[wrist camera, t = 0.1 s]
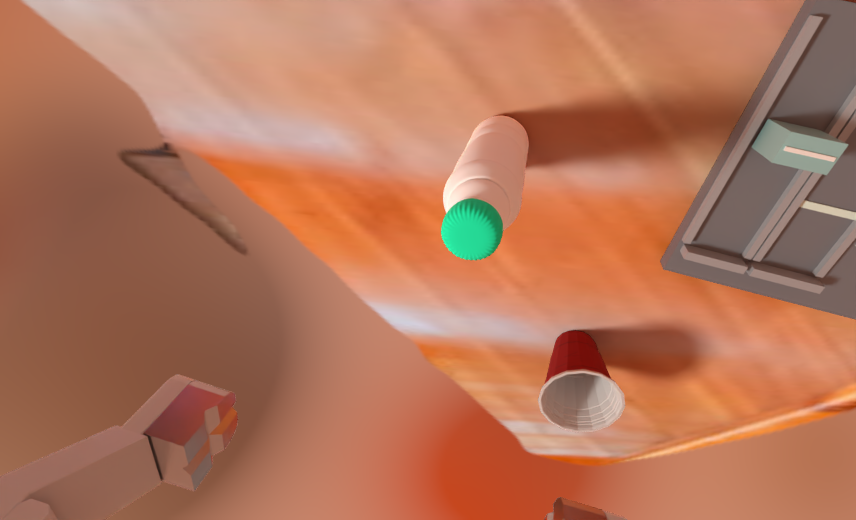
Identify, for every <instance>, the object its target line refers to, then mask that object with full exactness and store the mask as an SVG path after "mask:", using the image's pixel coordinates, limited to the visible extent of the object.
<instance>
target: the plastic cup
mask: <svg viewBox="0 0 856 520" xmlns="http://www.w3.org/2000/svg"><path fill="white" fill-rule="evenodd" d="M538 402H539V407H540V411H541V413H542V414H543V415H544V416H545V417H546V419H547V420H548V421H549V422H550V423H552V424H554V425H556V426H558V427H559V428H561V429H564V430H569V431H573V432H594V431H597V430H600V429H603V428H606V427H609V426H610V425H611V424H613V423H614V422H615V421H616V420H617V419H619V418H620V416H621V414H622V412H623V410H624V407H625V400H624V393H623V392H622V391H621V389H620V388H619V387H618V385H617V384H616V383H615V381H614V380H612V379H611V378H610V375H609V373H608V371H607V368H606V366H605V364H604V361H603V359H602V357H601V355H600V353H599V351H598V349H597V346H596V343H595V342H594V340H593V339H592V338H591V336H590V335H588V334H586V333H585V332H581V331H577V330H574V331H567V332H565V333H562V334H561V335H560V336H559V337H558V338H557V340H556V342H555V345H554V349H553V353H552V356H551V360H550V364H549V369H548V373H547V378H546V381H545V384H544V385H543V386H542V389H541V392H540V395H539V398H538Z"/></svg>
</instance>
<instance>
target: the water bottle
mask: <svg viewBox="0 0 856 520" xmlns="http://www.w3.org/2000/svg"><path fill="white" fill-rule="evenodd" d="M528 149H529V140H528V135H527V133H526V131H525V129H524V127H523V126H522V125H521V124H520V123H519V122H518V121H516V120H515V119H513V118H511V117H508V116H493V117H490V118H487V119H485V120H484V121H482V122H481V123H480V124H479V125H478V126H477V127H476V129H475V130H474V132H473V134H472V136H471V138H470V140H469V142H468V143H467V146H466V148H465V150H464V152H463V153H462V155H461V157H460V158H459V160H458V162H457V164H456V166H455V168H454V171H453V173H452V174H451V176H450V177H449V179H448V181H447V183H446V185H445V188H444V193H443V203H444V208H445V211H446V215H445V217H444V220H443V223H442V227H441V228H442V230H441V235H442V239H443V241H444V244H446V247H447V248H449V251H451V252H452V253H453V254H455V255H456V256H457V257H460V258H462V259H463V258H464V259H465V260H468V259H469V260H477V259H479V260H481V259H482V258H486V257H487V256H490V255H491V254H492V253H494V251H495V250H496V249H497V247H498V245H499V244H500V241H501V238H502V233H503V231H504V230H505V229H507V228H508V227H509V226H510V225H511V224H512V223H513V222H514V220H515V219H516V217H517V216H518V214H519V211H520V208H521V203H522V191H523V186H524V178H525V166H526V162H527V154H528Z"/></svg>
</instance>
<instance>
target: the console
mask: <svg viewBox="0 0 856 520" xmlns="http://www.w3.org/2000/svg"><path fill="white" fill-rule="evenodd" d="M768 119H772V120H777V121H781V122H786V123H790V124H795V125H799V126H804V127H808V128H813V129H817V130H821V131H823V132H825V133H827V134H829V135H831V136H833V137H835V138H837V139H839V140H841V141H843V142H845V143H847V144H849V145H848V146H847V148H846V149H845V151H844V152H843V153H842V155H841V156H840V158H839V159H838V160H837V162H836V163H835V165H834V166H833V167H832V169H831V170H830V171H829V173H828V174H827V175H823V174H819V173H815V172H810V171H806V170H802V169H797V168H793V167H789V166H784V165H780V164H776V163H771V162H770V161H769V160H768V159H766V158H765V157H764V156H762V155H761V154H760V153H758V152H757V151H756V150H754V149H753V148H752V145H753V143H754V142H755V140H756V138H757V137H758V135H759V133H760V132H761V130H762V128H763V127H764V125H765V123H766V121H767V120H768ZM660 262H661V264H662V267H663V269H664V270H668V271H672V272H676V273H680V274H683V275H687V276H691V277H695V278H699V279H703V280H706V281H710V282H714V283H718V284H722V285H725V286H729V287H733V288H737V289H741V290H745V291H748V292H752V293H756V294H760V295H764V296H768V297H771V298H775V299H779V300H783V301H787V302H791V303H794V304H798V305H802V306H806V307H810V308H813V309H817V310H821V311H825V312H829V313H833V314H836V315H840V316H844V317H848V318H852V319H856V3H853V2H848V1H842V0H805V2H804V4H803V6H802V8H801V9H800V11H799V13H798V15H797V17H796V18H795V20H794V22H793V24H792V26H791V27H790V29H789V31H788V33H787V35H786V36H785V38H784V40H783V42H782V43H781V45H780V47H779V49H778V51H777V52H776V54H775V56H774V58H773V60H772V61H771V63H770V65H769V67H768V69H767V70H766V72H765V74H764V76H763V78H762V79H761V81H760V83H759V85H758V87H757V88H756V90H755V92H754V94H753V96H752V97H751V99H750V101H749V103H748V105H747V106H746V108H745V110H744V112H743V113H742V115H741V117H740V119H739V121H738V122H737V124H736V126H735V128H734V130H733V131H732V133H731V135H730V137H729V139H728V140H727V142H726V144H725V146H724V148H723V149H722V151H721V153H720V155H719V157H718V158H717V160H716V162H715V164H714V166H713V167H712V169H711V171H710V173H709V175H708V176H707V178H706V180H705V182H704V183H703V185H702V187H701V189H700V191H699V192H698V194H697V196H696V198H695V200H694V201H693V203H692V205H691V207H690V209H689V210H688V212H687V214H686V216H685V218H684V219H683V221H682V223H681V225H680V227H679V228H678V230H677V232H676V234H675V236H674V237H673V239H672V241H671V243H670V245H669V246H668V248H667V250H666V252H665V254H664V255H663V257H662V259H661V261H660Z"/></svg>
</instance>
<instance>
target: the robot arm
mask: <svg viewBox="0 0 856 520" xmlns="http://www.w3.org/2000/svg"><path fill="white" fill-rule="evenodd" d="M235 402H236V398H235V393H233V392H230V391H227V390H224V389H220V388H217V387H214V386H211V385H208V384H205V383H202V382H199V381H197V380H194V379H191V378H188V377H184V376H181V375H178V374H177V375H175V376H173V377H171V378H170V379H168V380H167V381H166V382H165V383H164V385H162V386H161V388H159V389H158V391H157V392H156V393H155V394H154V395H153V396H152V397H151V398H150V399H149V400H148V401H147V402H146V403H145V404H144V405H143V406H142V407H141V408H140V409H139V410H138V411H137V412H136V413H135V414H134V415H133V416H132V417H131V418H130V419H129V420H128V421H127V422H126V423H125V424H124V425H123V426H122V427H120V426H113V427H111V428H109V429H106V430H104V431H102V432H100V433H98V434H95V435H93V436H91V437H88V438H86V439H84V440H81V441H79V442H77V443H75V444H72V445H70V446H68V447H65V448H63V449H61V450H59V451H56V452H54V453H52V454H50V455H47V456H45V457H43V458H40V459H38V460H36V461H34V462H31V463H29V464H27V465H24V466H22V467H20V468H18V469H15V470H13V471H11V472H8V473H6V474H4V475H2V476H0V520H106V519H107V518H109V517H110V516H112V515H113V514H115V513H117V512H118V511H120V510H121V509H123V508H124V507H126V506H127V505H129V504H131V503H132V502H134V501H135V500H137V499H138V498H140V497H142V496H143V495H145V494H146V493H148V492H149V491H151V490H152V489H154V488H155V487H157V486H159V485H160V484H161V483H162V482H161V481H163V482H166V483H169V484H172V485H175V486H179V487H182V488H185V489H188V490H191V491H195V490H196V488H197V487H198V486H199V485H200V483H201V482H202V480H203V479H204V478H205V476H206V475H207V473H208V472H209V471H210V469H211V468H212V465H213V456H214V455H216V454H218V453H219V452H221V451H223V450H224V449H225V448H226V447H227V445H228V444H229V442H230V441H231V439H232V437H233V435H234V432H235V430H236V428H237V423H238V413H237V412H236V411H235V409H234V408H233V405H234V404H235ZM553 507H554V508H553V510H554V511H553V512H552V513H549V514H547V515H546V517H545V519H544V520H627V519H626V518H625V517H623V516H619V515H616V514H613V513H609V512H606V511H603V510H602V509H598V508H595V507H592V506H588V505H585V504H582V503H578V502H575V501H572V500H568V499H565V498H562V497H560V498H557V499H556V501H555V502H554V505H553Z"/></svg>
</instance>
